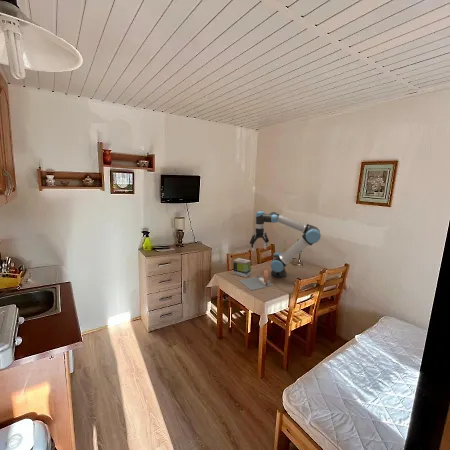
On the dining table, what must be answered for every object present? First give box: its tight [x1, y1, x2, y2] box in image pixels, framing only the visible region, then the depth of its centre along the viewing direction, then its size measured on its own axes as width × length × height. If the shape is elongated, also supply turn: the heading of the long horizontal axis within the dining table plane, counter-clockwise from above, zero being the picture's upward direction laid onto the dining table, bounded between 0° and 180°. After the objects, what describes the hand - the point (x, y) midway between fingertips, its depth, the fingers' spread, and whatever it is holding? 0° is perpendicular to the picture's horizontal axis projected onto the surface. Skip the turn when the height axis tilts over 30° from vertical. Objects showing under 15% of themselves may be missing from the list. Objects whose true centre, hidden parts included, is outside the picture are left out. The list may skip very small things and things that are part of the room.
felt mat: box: [238, 275, 274, 292], centre depth 234 cm, size 24×22×1 cm
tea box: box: [232, 257, 252, 278], centre depth 253 cm, size 15×10×15 cm, turn 56°
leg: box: [258, 269, 269, 285], centre depth 232 cm, size 11×4×13 cm, turn 25°
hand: (259, 250), depth 239 cm, fingers open, 13 cm apart
